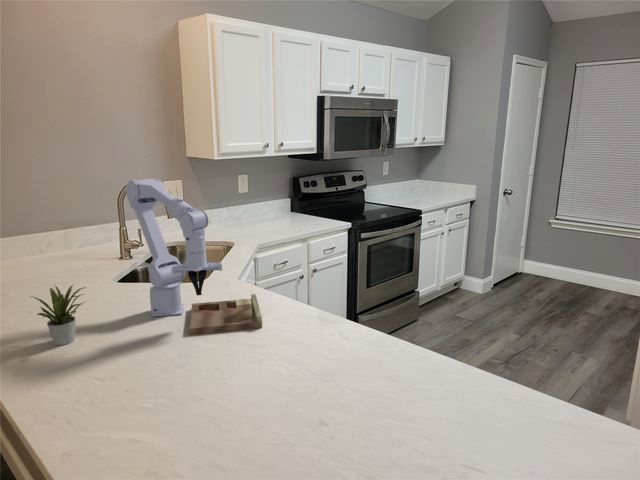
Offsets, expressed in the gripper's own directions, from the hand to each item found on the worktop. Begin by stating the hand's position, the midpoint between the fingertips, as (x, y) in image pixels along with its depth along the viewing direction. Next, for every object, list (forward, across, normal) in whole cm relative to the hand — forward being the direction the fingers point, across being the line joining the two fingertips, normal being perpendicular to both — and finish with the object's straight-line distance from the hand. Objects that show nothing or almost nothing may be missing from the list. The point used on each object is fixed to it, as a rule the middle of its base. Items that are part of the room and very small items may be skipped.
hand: (199, 294), depth 138 cm
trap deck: (+9, +8, +2) cm, 12 cm away
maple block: (+7, +13, -2) cm, 15 cm away
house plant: (+10, -36, -4) cm, 37 cm away
